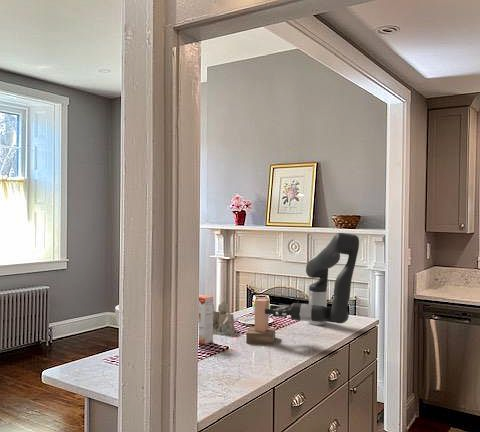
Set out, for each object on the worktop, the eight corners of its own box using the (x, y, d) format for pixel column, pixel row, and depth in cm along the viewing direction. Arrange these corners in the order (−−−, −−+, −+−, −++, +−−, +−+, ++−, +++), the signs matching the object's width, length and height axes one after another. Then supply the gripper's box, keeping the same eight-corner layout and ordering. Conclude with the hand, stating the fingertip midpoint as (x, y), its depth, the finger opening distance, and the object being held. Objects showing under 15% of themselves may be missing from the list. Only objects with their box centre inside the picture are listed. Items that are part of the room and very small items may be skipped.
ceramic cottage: (201, 326, 250) (203, 297, 249) (234, 327, 251) (235, 298, 250) (201, 336, 234) (203, 306, 233) (236, 337, 236) (237, 307, 235)
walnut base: (250, 336, 233) (250, 326, 233) (275, 338, 232) (275, 327, 231) (246, 344, 222) (246, 333, 221) (272, 345, 220) (273, 334, 220)
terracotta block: (258, 328, 230) (258, 298, 230) (268, 329, 228) (268, 299, 228) (254, 330, 225) (255, 300, 225) (264, 332, 223) (265, 301, 223)
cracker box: (182, 339, 227) (182, 294, 226) (191, 336, 231) (191, 292, 231) (204, 345, 218) (204, 298, 217) (213, 342, 223) (213, 296, 222)
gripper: (305, 300, 227) (271, 298, 232) (299, 306, 213) (263, 304, 218) (305, 317, 227) (271, 314, 232) (299, 324, 213) (263, 320, 219)
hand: (267, 309), depth 225 cm, fingers open, 8 cm apart
